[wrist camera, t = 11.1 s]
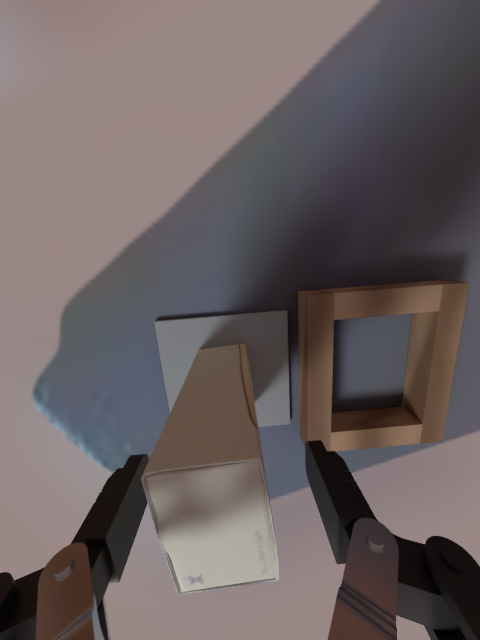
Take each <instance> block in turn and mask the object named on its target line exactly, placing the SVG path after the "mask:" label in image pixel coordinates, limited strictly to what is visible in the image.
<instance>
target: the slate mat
mask: <svg viewBox="0 0 480 640" xmlns="http://www.w3.org/2000/svg"><path fill="white" fill-rule="evenodd" d="M154 324H155V330H156V335H157V341H158V347H159V352H160V358H161V364H162V370H163V375H164V381H165V387H166V392H167V398H168V404H169V409H170V412H171V410H172V408H173V406H174V403H175V401H176V399H177V397H178V395H179V392H180V390H181V388H182V385H183V383H184V381H185V379H186V377H187V374H188V372H189V370H190V367H191V365H192V363H193V361H194V358H195V356H196V354H197V352H198V350H200V349H207V348H213V347H220V346H227V345H235V344H243V343H245V344H246V348H247V354H248V361H249V367H250V374H251V381H252V387H253V394H254V401H255V408H256V415H257V422H258V427H263V426H274V425H285V424H290V400H289V359H288V318H287V310H279V311H266V312H254V313H242V314H230V315H218V316H206V317H194V318H181V319H169V320H157V321H155V322H154Z"/></svg>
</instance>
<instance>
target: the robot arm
mask: <svg viewBox="0 0 480 640" xmlns="http://www.w3.org/2000/svg"><path fill="white" fill-rule="evenodd" d="M305 450H306V473H307V477H308V481H309V483H310V486H311V489H312V492H313V495H314V498H315V501H316V504H317V507H318V510H319V513H320V516H321V519H322V522H323V524H324V527H325V530H326V533H327V536H328V539H329V542H330V545H331V548H332V551H333V554H334V557H335V559H336V563H337V564H344V563H345V564H346V565H345V570H344V575H343V579H342V584H341V587H339V590H338V594H337V598H336V603H335V608H334V613H333V617H332V622H331V627H330V631H329V636H328V640H397V628H396V615H398V616H400V617H403V618H406V619H408V620H411V621H414V622H416V623H419V624H422V625H424V626H425V628H426V630H427V632H428V634H429V636H430V638H431V640H480V566H479V565H478V564H477V562H476V561H475V560H474V559H473V557H472V556H471V555H470V554H469V553H468V552H467V551H466V550H464V549H463V548H462V547H461V546H459V545H458V544H457V543H455V542H453V541H451V540H449V539H447V538H444V537H441V536H432V537H430V538H428V539H427V541H426V544H421V543H417V542H414V541H410V540H406V539H403V538H400V537H398V536H396V535H394V534H392V533H391V532H390V531H389V530H388V529H387V528H386V527H385V526H384V525H383V524H381V523H380V522H379V521H378V520H377V519H376V517H375V516H374V514H373V512H372V510H371V509H370V507H369V505H368V503H367V501H366V500H365V498H364V496H363V494H362V492H361V490H360V489H359V487H358V485H357V483H356V481H354V478H353V476H352V474H351V472H349V469H348V467H347V465H346V463H345V462H344V460H343V459H342V458H341V457H340V456H339V455H338V454H337V453H336V452H335V451H327V450H326V448H325V446H324V444H323V442H322V441H321V440H314V441H306V444H305ZM148 462H149V459H148V455H147V454H141V455H131V456H130V457H129V458H128V460H127V462H126V464H125V466H124V467H123V468H118V469H117V470H116V471H115V472H114V473H113V474H112V475H111V476H110V478H109V479H108V480H107V482H106V483H105V485H104V487H103V489H102V492H101V493H100V494H99V496H98V497H97V499H96V502H95V503H94V504H93V506H92V508H91V510H90V511H89V513H88V515H87V517H86V518H85V520H84V522H83V524H82V525H81V527H80V529H79V530H78V532H77V534H76V536H75V537H74V539H73V541H72V542H71V544H70V545H68V546H66V547H64V548H63V549H62V550H60V551H59V552H58V553H57V554H55V555H54V556H53V558H52V559H51V560H50V561H49V562H48V563H47V565H46V566H45V567H44V568H42V569H40V570H38V571H36V572H33V573H31V574H29V575H27V576H24V577H22V578H20V579H17V580H15V581H14V579H13V577H12V576H11V574H10V573H7V572H3V573H0V640H111V638H110V632H109V625H108V619H107V612H106V606H105V600H104V594H105V591H106V589H107V586H108V584H109V583H113V582H119V581H120V579H121V576H122V573H123V570H124V567H125V564H126V562H127V559H128V556H129V553H130V550H131V548H132V545H133V542H134V539H135V536H136V533H137V531H138V528H139V525H140V522H141V519H142V517H143V514H144V511H145V508H146V505H147V503H148V502H147V498H146V494H145V491H144V488H143V485H142V481H141V478H142V475H143V473H144V471H145V468H146V466H147V464H148Z"/></svg>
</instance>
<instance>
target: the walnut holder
mask: <svg viewBox="0 0 480 640" xmlns="http://www.w3.org/2000/svg"><path fill="white" fill-rule="evenodd" d="M469 283H470V282H460V281H448V280H430V281H418V282H406V283H393V284H381V285H369V286H356V287H344V288H331V289H319V290H307V291H298V355H299V433H300V436H301V438H302V441H303V443H304V446H305V444H306V441H314V440H321V441H322V442H323V444H324V446H325V448H326V450H327V451H345V450H356V449H367V448H377V447H388V446H398V445H409V444H420V443H430V442H441V441H442V439H443V433H444V427H445V421H446V415H447V410H448V404H449V398H450V392H451V387H452V381H453V375H454V369H455V363H456V358H457V352H458V346H459V340H460V335H461V329H462V323H463V317H464V311H465V306H466V300H467V294H468V288H469ZM411 313H412V321H411V329H410V338H409V347H408V355H407V364H406V373H405V381H404V390H403V399H402V406H401V407H390V408H379V409H368V410H357V411H346V412H335V413H331V411H332V376H333V340H334V320H339V319H351V318H363V317H375V316H387V315H399V314H411Z"/></svg>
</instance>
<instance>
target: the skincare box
mask: <svg viewBox="0 0 480 640" xmlns="http://www.w3.org/2000/svg"><path fill="white" fill-rule="evenodd" d="M141 481H142V485H143V488H144V491H145V494H146V498H147V502H148V505H149V508H150V512H151V514H152V518H153V521H154V524H155V528H156V532H157V535H158V539H159V542H160V545H161V547H162V550H163V552H164V555H165V559H166V562H167V564H168V568H169V571H170V574H171V576H172V580H173V582H174V585H175V588H176V592H177V594H178V595H183V594H188V593H196V592H203V591H211V590H216V589H224V588H232V587H238V586H246V585H252V584H259V583H267V582H275V581H278V580H279V565H278V555H277V547H276V540H275V533H274V526H273V519H272V512H271V507H270V500H269V493H268V487H267V481H266V475H265V468H264V462H263V455H262V449H261V442H260V436H259V429H258V422H257V415H256V408H255V401H254V394H253V387H252V381H251V374H250V367H249V361H248V354H247V348H246V344H245V343H243V344H235V345H227V346H220V347H213V348H207V349H200V350H198V352H197V354H196V356H195V358H194V361H193V363H192V365H191V367H190V370H189V372H188V374H187V377H186V379H185V381H184V383H183V385H182V388H181V390H180V392H179V395H178V397H177V399H176V401H175V403H174V406H173V408H172V410H171V412H170V415H169V417H168V419H167V421H166V424H165V426H164V428H163V430H162V433H161V435H160V437H159V439H158V442H157V444H156V446H155V448H154V450H153V453H152V455H151V457H150V459H149V462H148V464H147V466H146V468H145V471H144V473H143V475H142V478H141Z"/></svg>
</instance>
